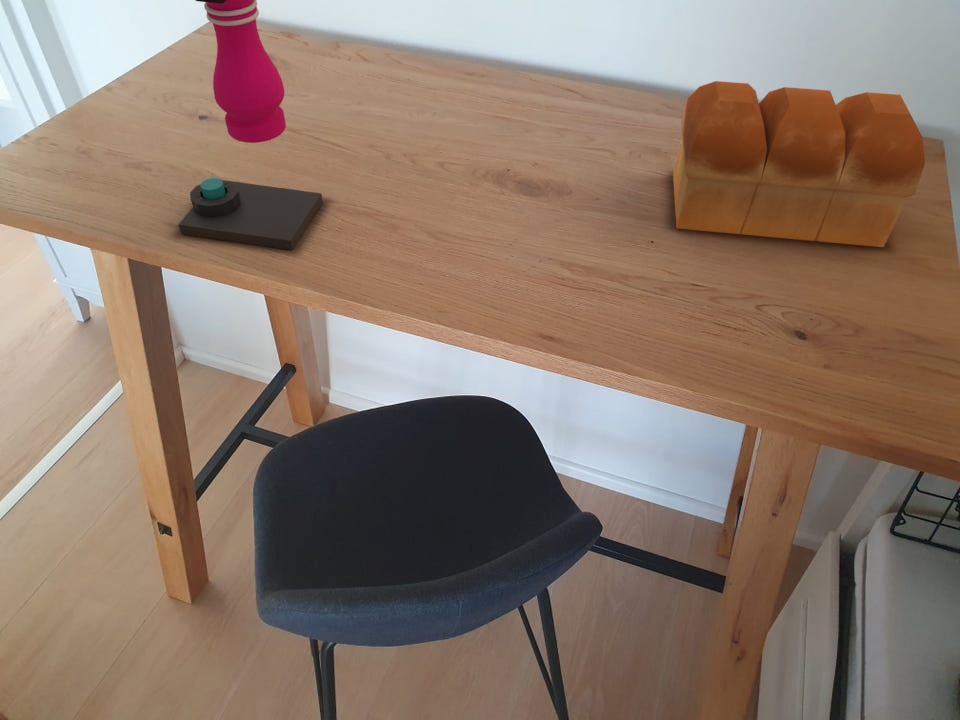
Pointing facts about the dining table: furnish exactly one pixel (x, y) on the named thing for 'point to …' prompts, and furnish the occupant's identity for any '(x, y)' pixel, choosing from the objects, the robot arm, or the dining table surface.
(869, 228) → the bread
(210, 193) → the button
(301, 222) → the dark button base
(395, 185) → the dining table surface
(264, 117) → the pepper mill
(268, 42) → the dining table surface
